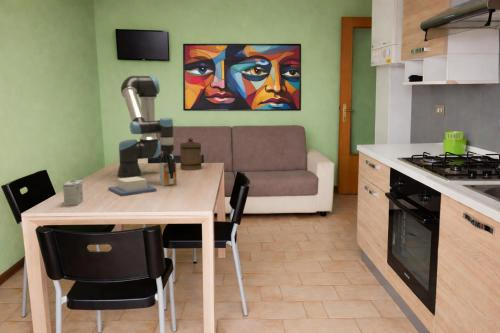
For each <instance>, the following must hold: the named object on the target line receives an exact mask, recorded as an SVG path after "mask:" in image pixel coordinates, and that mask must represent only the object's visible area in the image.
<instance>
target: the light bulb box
mask: <svg viewBox="0 0 500 333" xmlns="http://www.w3.org/2000/svg"><path fill="white" fill-rule="evenodd" d="M62 187H63V188H62V191H63V203H64V206H67V207H68V206H69V207H70V206H79V204H81V203H82V202H83V201H84V192H83V180H82V179H77V180H75V179H74V180H70V179H69V180H68V181H67V182H65V183H64V184H62Z"/></svg>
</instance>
